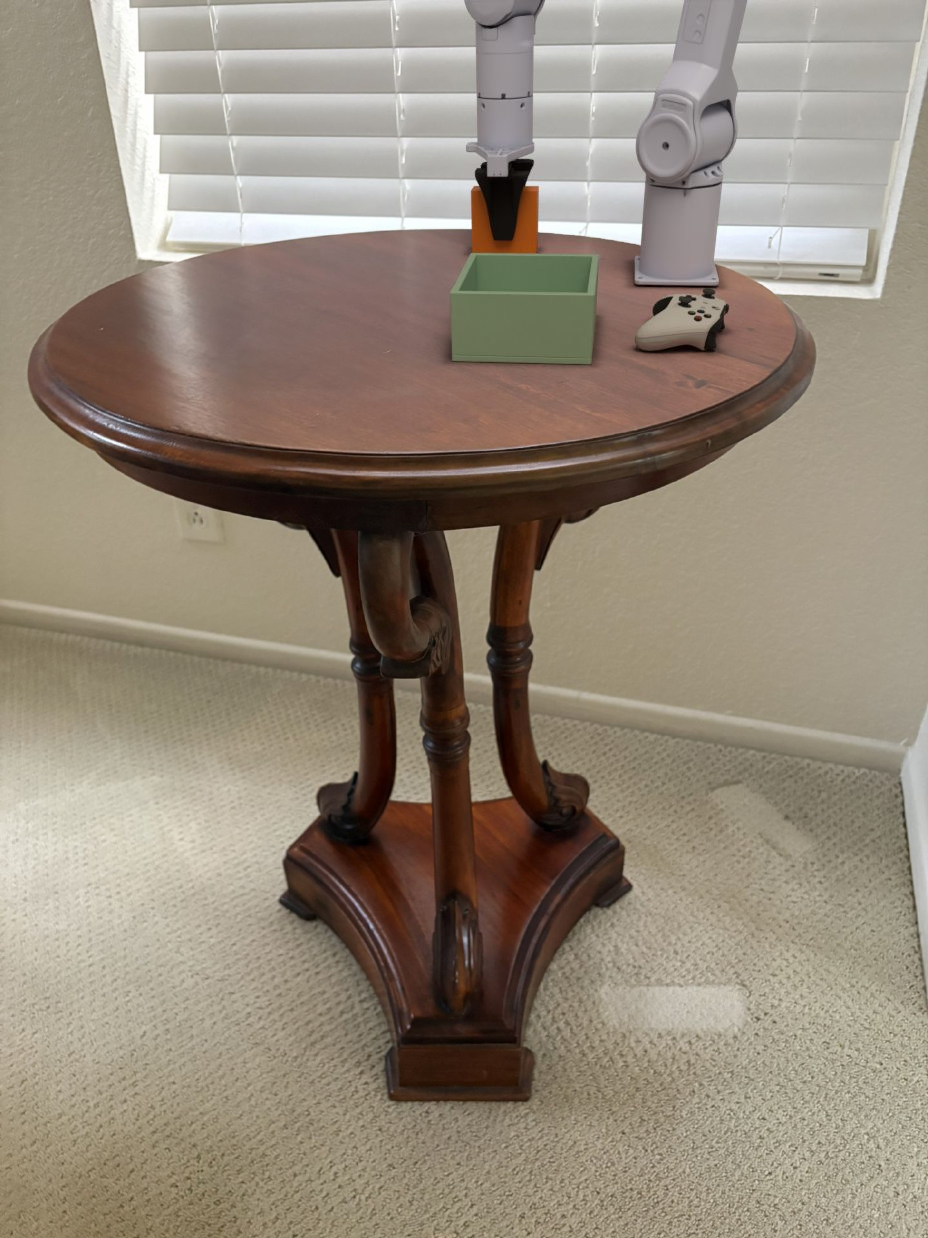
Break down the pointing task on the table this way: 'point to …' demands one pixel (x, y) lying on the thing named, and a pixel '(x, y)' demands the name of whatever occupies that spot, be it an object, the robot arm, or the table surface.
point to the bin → (525, 308)
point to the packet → (525, 226)
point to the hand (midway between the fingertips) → (505, 236)
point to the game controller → (683, 322)
